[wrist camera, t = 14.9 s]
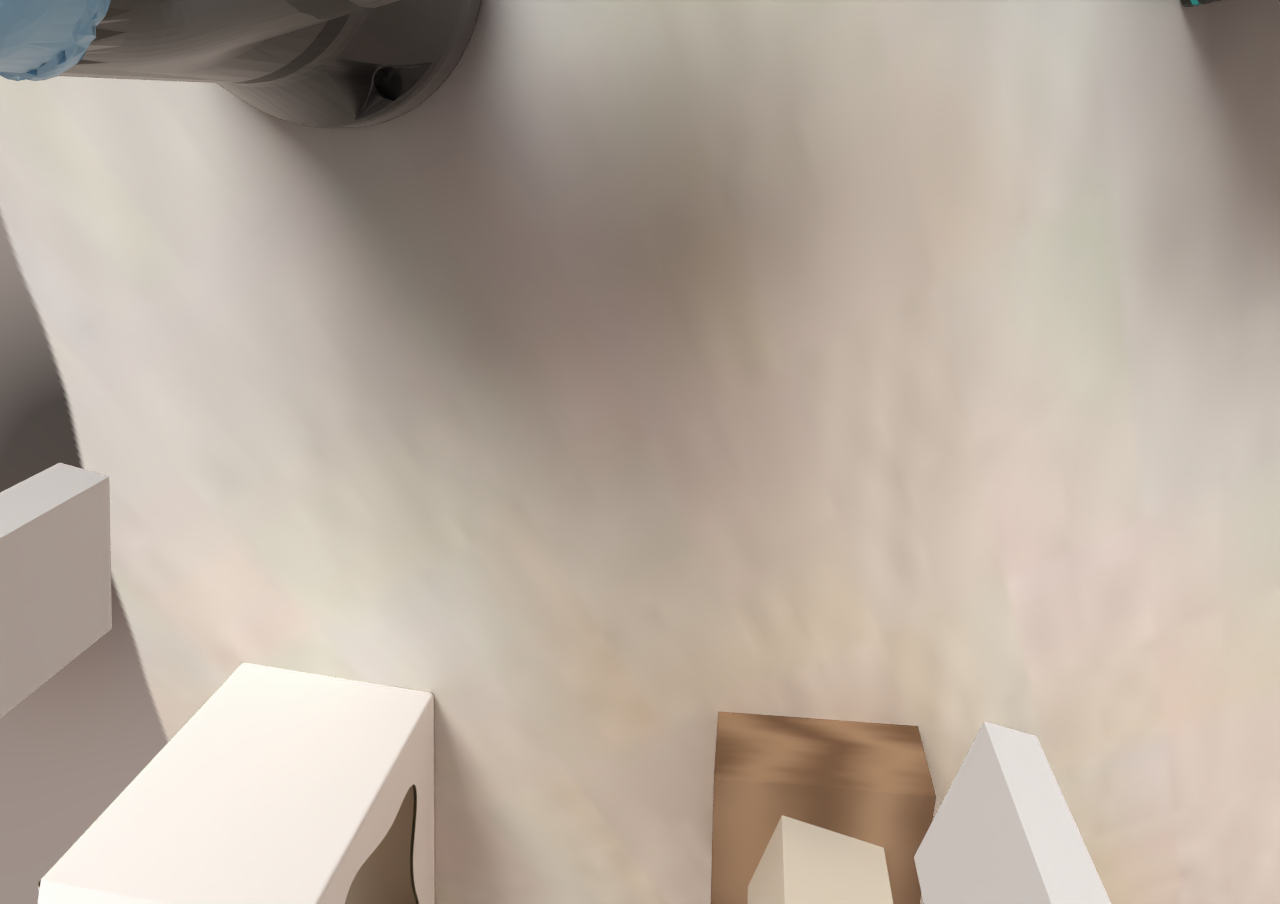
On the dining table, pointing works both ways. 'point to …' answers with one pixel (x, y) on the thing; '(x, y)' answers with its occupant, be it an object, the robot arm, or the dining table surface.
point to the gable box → (272, 803)
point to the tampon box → (1195, 2)
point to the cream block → (819, 868)
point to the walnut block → (817, 793)
